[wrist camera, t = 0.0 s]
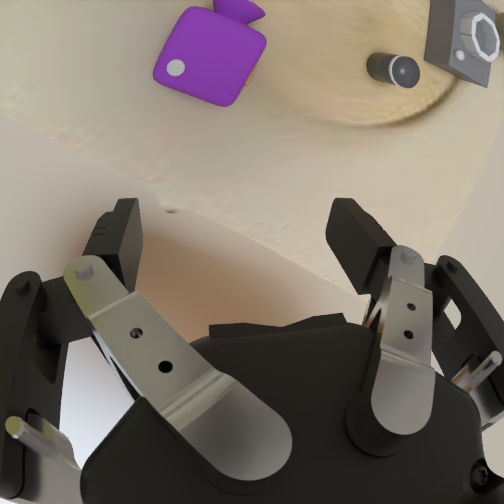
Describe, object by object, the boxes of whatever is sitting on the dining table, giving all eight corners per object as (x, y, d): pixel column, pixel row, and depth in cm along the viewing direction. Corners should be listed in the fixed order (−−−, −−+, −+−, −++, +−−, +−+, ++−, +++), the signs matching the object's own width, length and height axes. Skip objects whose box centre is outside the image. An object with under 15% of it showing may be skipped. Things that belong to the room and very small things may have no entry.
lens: (368, 48, 32) (396, 51, 26) (393, 57, 33) (422, 62, 27) (363, 76, 35) (390, 83, 29) (388, 84, 36) (417, 92, 30)
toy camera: (267, 11, 28) (291, -2, 20) (237, 102, 35) (250, 116, 27) (185, -8, 24) (181, -29, 16) (157, 87, 32) (144, 96, 24)
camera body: (431, -18, 23) (467, -20, 17) (471, 9, 25) (505, 14, 19) (423, 59, 33) (460, 68, 26) (463, 80, 35) (497, 92, 28)
